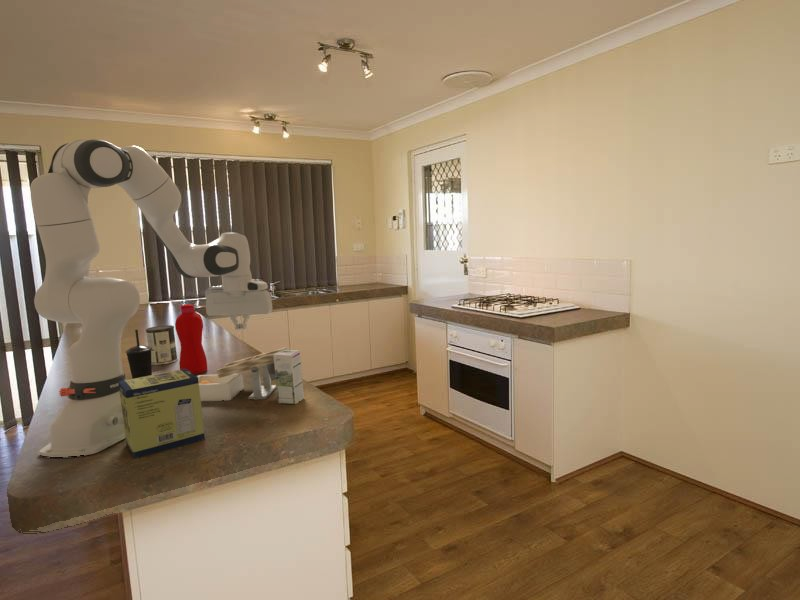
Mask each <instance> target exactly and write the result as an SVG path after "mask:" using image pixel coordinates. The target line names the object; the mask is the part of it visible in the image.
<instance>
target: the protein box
mask: <svg viewBox="0 0 800 600" xmlns="http://www.w3.org/2000/svg"><path fill="white" fill-rule="evenodd" d="M197 376H198V375H197V374H193V373H191V372H190V371H189V370H188V369H181V370H180V369H177V370H171V371H167V372H161V373H157V374H152V375H150V376H145V377H140V378H135V379H132V378H131V379H126V380H123V381H119V382H118V385H119V392H120V399H121V406H122V413H123V421H124V428H125V436H126V438H125V444H126V446H127V448H128V450H129V452H130V454H131V455H132V458H133V459H137V457H138V458H142V457H144V456H145V455H146V456H148V454H149V455H153V454H156V453H155V452H157V453H160V452H164V451H167V450H171V449H174V448H178V447H181V446H185V445H189V444H193V443H197V442H199V440H200V441H203V440H202V439H204V440H205V439H206V438H205V435H206V434H205V427H204V420H203V410H202V401H201V399H200V390H199V382H198V377H197ZM163 450H164V451H163ZM159 451H160V452H159ZM152 453H153V454H152ZM141 456H142V457H141ZM146 456H145V457H146Z"/></svg>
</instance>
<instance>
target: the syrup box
mask: <svg viewBox="0 0 800 600" xmlns="http://www.w3.org/2000/svg"><path fill="white" fill-rule="evenodd" d="M301 357H302V356H301V351H300V350H297V349H295V350H294V349H291V350H288V349H287V350H282V351H279V352H277V353H276V354H274V366H275V377H276V380H275V385H276V397H277V403H278V404H280V405H281V404H282V405H297V404H298V403H300V402H301V401H303V400H304V399H305V393H304V385H303V372H302V371H303V370H302V369H303V368H302V358H301ZM299 401H300V402H299Z"/></svg>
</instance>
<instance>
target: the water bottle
mask: <svg viewBox="0 0 800 600" xmlns="http://www.w3.org/2000/svg"><path fill="white" fill-rule="evenodd" d="M179 309H180V312H181V313H180V314H179V315H178V316H177V317H176V320H175V323H174V324H175V325H174V329H175V332H176V334H177V338H178V341H179V343H180V354H179V363H178V364H179V370H181V369H188V370H189V371H190V372H191V373H193V374H194V375H200V374H204V373H206V371H208V361H207V355H206V353H205V348H204V347H203V344H202V343H203V336H204V338H205V339H207V337H206V336H205V335H203V332H204V331H205V330H204V329H205V328H204V322H203V320H204V319H203V317H202V316H201V314H199V313H198V312H197V310H196V309H195V306H194V304H190V303H187V304H182V305H180V307H179ZM205 325H206V326H208V325H207V323H205ZM207 331H208V332H210V331H209V329H207Z"/></svg>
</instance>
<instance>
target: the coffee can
mask: <svg viewBox="0 0 800 600" xmlns="http://www.w3.org/2000/svg"><path fill="white" fill-rule="evenodd" d="M145 333H146V341H147V346H149V347H152V350H151V362H152V366H162V364H163V365H168V364H171V363H175V362H178V360H179V359H178V352H177V346H176V337H175V335H176V334H175V325H170V324H168V325H157V326H152V327H148V328H145Z"/></svg>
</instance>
